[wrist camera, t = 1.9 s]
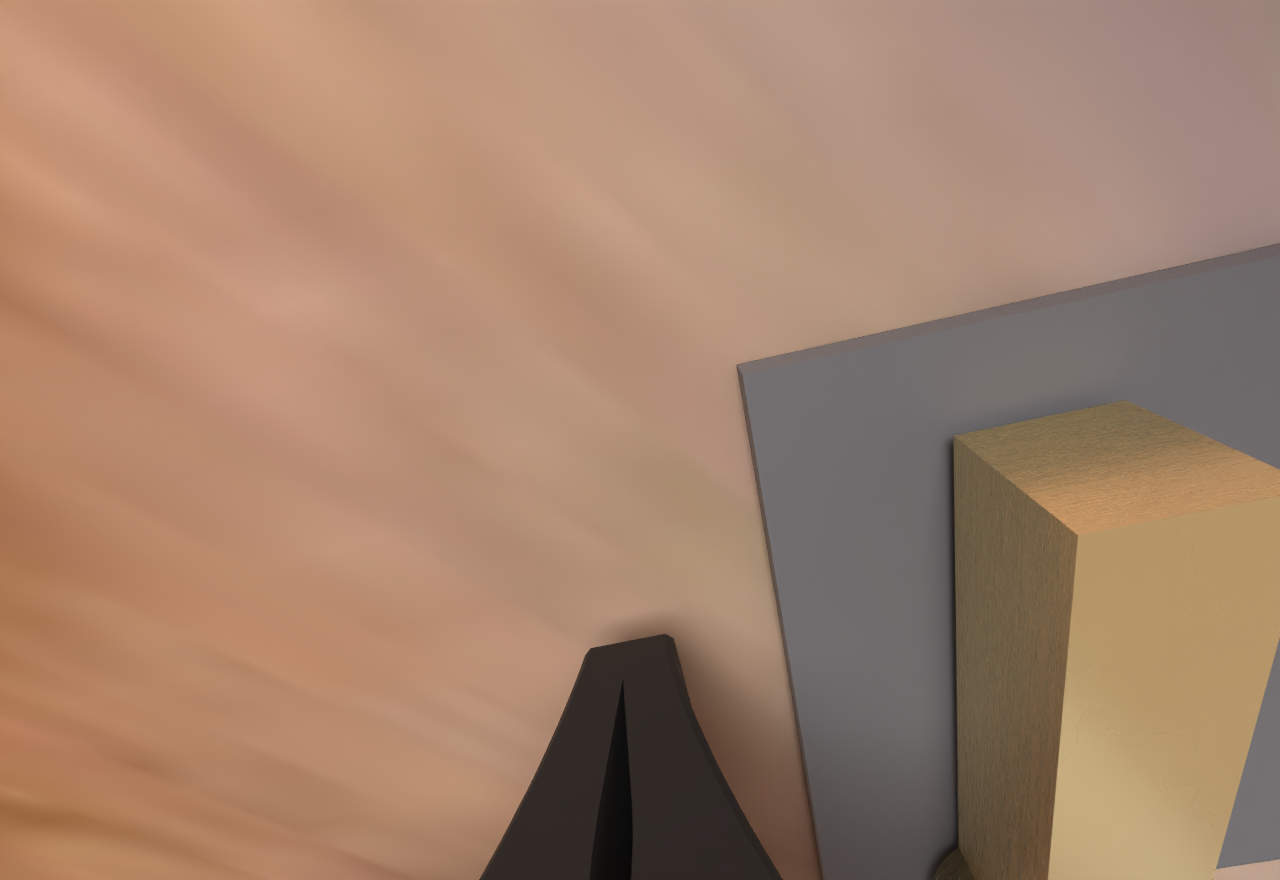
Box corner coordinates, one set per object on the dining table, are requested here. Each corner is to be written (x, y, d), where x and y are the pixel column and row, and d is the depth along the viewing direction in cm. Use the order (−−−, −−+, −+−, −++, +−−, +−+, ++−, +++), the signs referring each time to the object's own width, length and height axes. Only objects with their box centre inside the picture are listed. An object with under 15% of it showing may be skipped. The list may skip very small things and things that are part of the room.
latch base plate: (2032, 75, 8) (2122, 69, 7) (1585, 785, 13) (1619, 807, 13) (736, 364, 9) (742, 375, 8) (826, 903, 15) (833, 927, 14)
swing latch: (1094, 910, 14) (1212, 1098, 11) (933, 934, 14) (1009, 1123, 11) (1168, 391, 8) (1432, 495, 6) (912, 444, 9) (1043, 570, 6)
